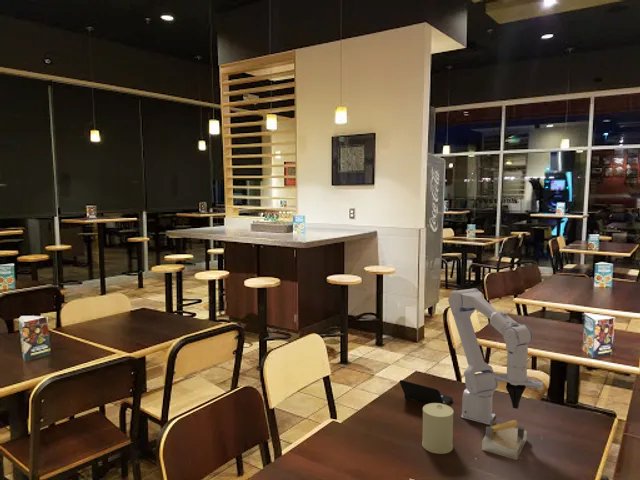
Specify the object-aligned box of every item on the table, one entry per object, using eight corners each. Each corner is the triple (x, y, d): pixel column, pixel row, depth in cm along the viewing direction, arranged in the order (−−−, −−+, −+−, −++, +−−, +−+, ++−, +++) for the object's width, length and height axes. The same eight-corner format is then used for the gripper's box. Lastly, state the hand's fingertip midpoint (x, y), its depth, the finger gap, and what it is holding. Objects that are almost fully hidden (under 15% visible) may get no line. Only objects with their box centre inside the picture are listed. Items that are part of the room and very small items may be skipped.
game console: (453, 401, 176) (454, 377, 175) (438, 415, 166) (438, 390, 165) (415, 390, 186) (415, 367, 185) (398, 402, 175) (398, 379, 174)
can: (453, 440, 149) (454, 403, 148) (451, 456, 140) (452, 417, 139) (423, 435, 152) (424, 399, 151) (420, 450, 143) (420, 412, 142)
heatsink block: (481, 449, 144) (482, 432, 143) (493, 431, 154) (493, 415, 154) (517, 460, 138) (517, 442, 137) (526, 440, 149) (527, 423, 148)
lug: (517, 435, 146) (517, 428, 145) (518, 433, 147) (518, 425, 147) (523, 437, 145) (523, 429, 145) (524, 434, 146) (524, 427, 146)
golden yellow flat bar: (489, 433, 147) (487, 430, 147) (492, 429, 149) (490, 426, 150) (515, 426, 142) (513, 423, 143) (517, 422, 145) (515, 419, 145)
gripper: (489, 364, 147) (488, 406, 149) (540, 373, 140) (538, 418, 141) (494, 357, 153) (493, 398, 155) (544, 366, 145) (542, 408, 147)
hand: (515, 407), depth 148 cm, fingers closed
